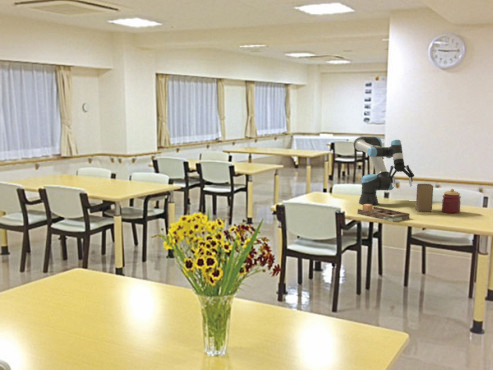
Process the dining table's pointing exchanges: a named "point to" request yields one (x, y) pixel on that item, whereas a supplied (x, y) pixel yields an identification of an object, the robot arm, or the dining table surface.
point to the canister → (451, 202)
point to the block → (424, 197)
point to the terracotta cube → (368, 207)
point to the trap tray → (385, 214)
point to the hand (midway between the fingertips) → (402, 186)
